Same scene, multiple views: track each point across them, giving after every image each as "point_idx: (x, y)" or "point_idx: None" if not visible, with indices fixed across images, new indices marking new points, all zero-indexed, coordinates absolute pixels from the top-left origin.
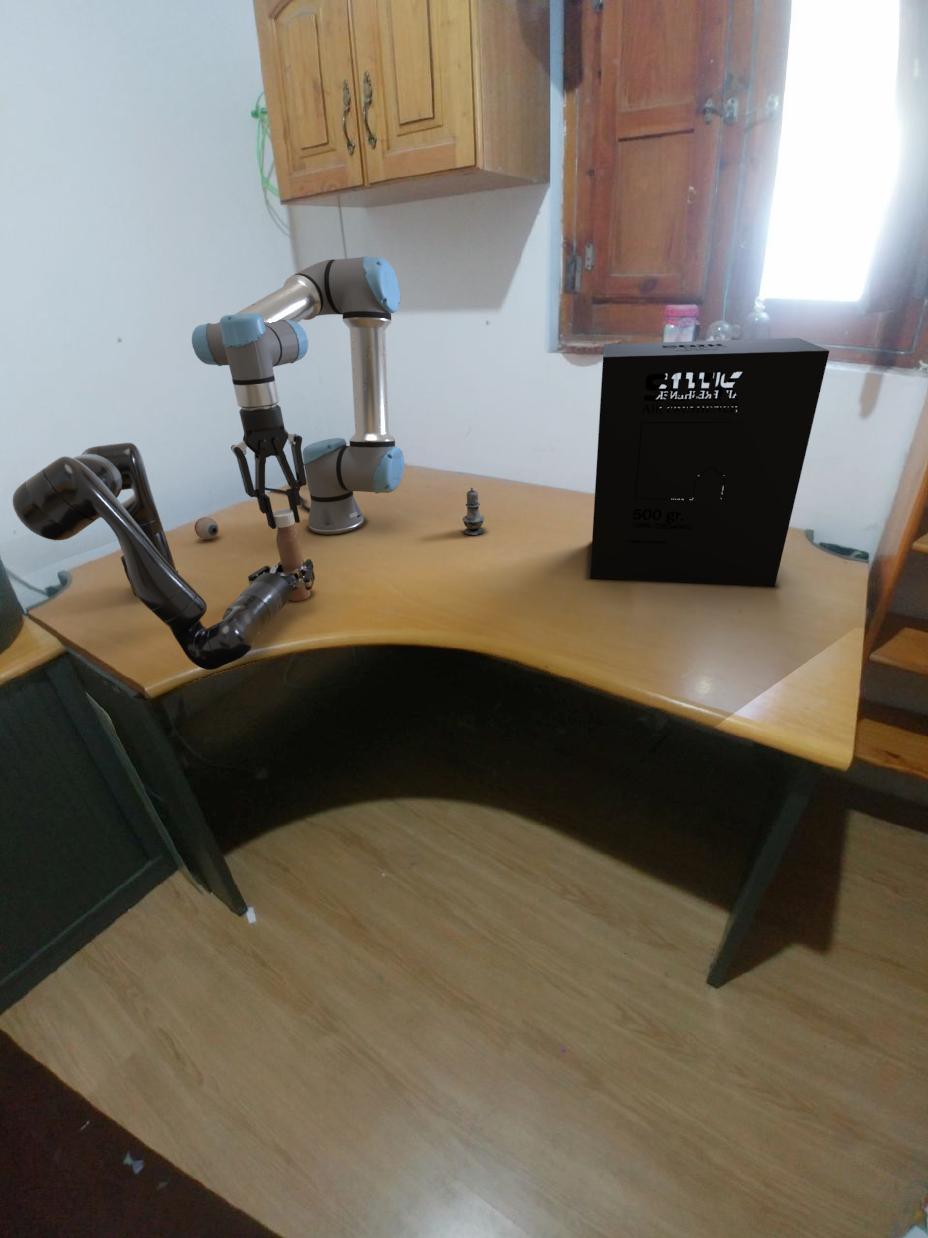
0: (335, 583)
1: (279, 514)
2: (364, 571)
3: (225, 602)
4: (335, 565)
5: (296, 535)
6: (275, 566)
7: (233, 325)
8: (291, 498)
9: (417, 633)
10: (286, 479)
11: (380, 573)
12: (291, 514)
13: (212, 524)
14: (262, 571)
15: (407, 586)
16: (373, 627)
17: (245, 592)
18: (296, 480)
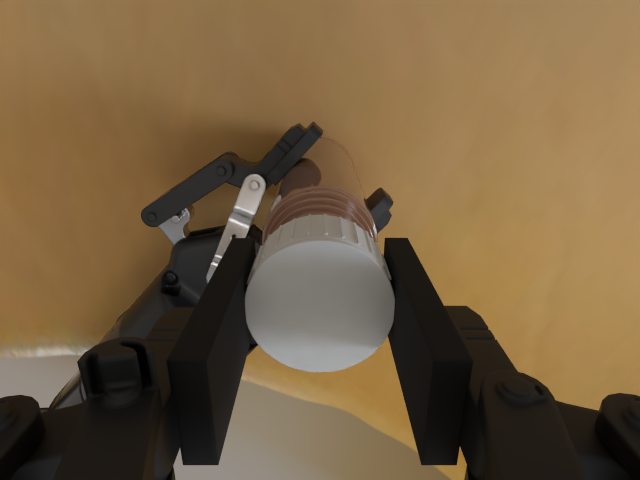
0: (443, 160)
1: (294, 332)
2: (559, 137)
3: (103, 54)
4: (520, 13)
5: None
6: (253, 190)
7: None
8: (409, 414)
9: (450, 474)
10: (492, 470)
11: (584, 186)
12: (362, 356)
13: None
14: (200, 197)
15: (577, 305)
16: (396, 415)
17: None
18: (587, 473)
